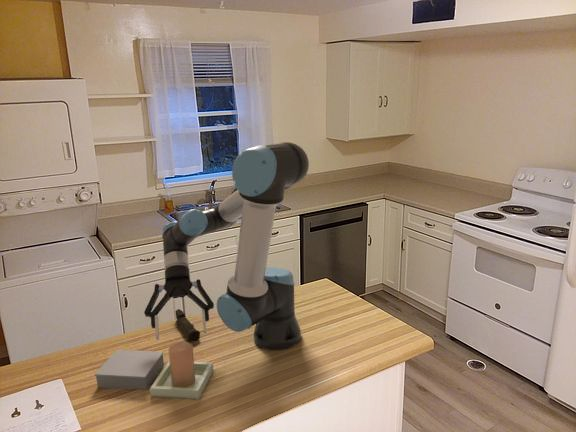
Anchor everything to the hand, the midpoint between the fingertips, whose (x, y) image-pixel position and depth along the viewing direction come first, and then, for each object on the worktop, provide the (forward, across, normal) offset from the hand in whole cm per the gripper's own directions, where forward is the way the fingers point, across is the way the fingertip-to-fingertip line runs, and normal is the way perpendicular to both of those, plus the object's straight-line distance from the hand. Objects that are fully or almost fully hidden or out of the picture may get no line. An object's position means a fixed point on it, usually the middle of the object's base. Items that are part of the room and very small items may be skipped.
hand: (181, 335), depth 134 cm
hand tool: (-7, 0, -21) cm, 22 cm away
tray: (+14, 0, +1) cm, 14 cm away
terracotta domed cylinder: (+13, 0, +2) cm, 13 cm away
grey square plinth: (+8, +14, -4) cm, 17 cm away
